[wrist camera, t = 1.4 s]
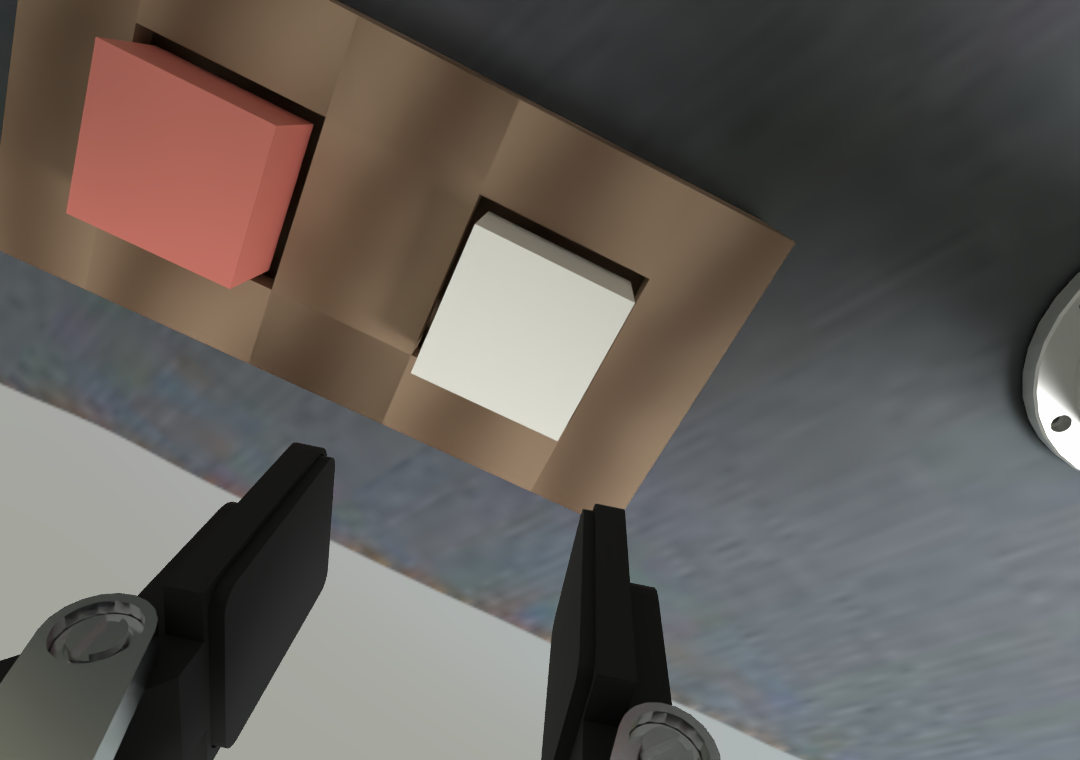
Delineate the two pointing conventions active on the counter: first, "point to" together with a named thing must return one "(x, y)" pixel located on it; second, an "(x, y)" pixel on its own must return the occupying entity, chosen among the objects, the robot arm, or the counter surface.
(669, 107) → the counter surface
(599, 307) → the white key
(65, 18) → the panel
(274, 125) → the red key
